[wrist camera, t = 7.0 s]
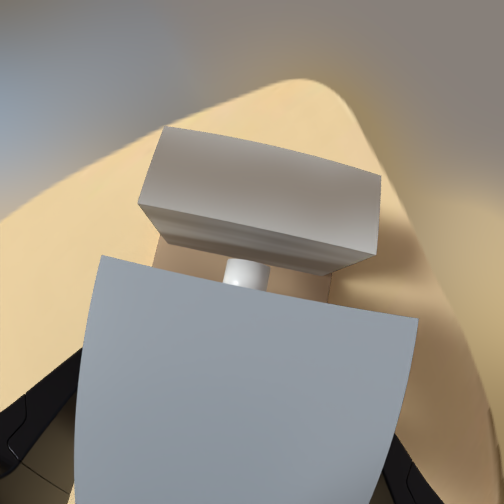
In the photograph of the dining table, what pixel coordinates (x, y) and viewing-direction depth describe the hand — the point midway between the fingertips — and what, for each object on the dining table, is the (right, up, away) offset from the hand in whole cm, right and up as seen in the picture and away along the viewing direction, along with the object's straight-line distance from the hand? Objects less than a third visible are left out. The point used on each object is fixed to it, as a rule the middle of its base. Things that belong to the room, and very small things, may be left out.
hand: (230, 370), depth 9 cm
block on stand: (-1, -2, +7) cm, 7 cm away
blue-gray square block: (0, -1, +5) cm, 5 cm away
